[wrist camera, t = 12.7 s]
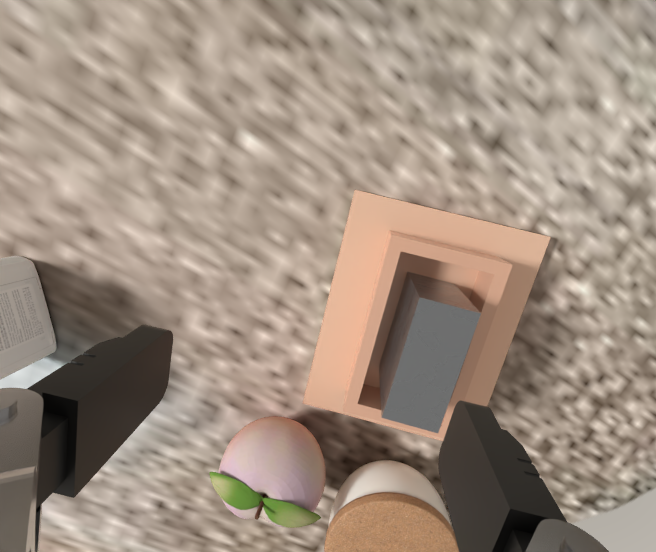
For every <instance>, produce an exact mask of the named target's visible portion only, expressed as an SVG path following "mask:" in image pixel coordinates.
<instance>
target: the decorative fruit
mask: <svg viewBox="0 0 656 552" xmlns="http://www.w3.org/2000/svg"><path fill="white" fill-rule="evenodd" d="M210 478H211V482H212V484H213V486H214V488H215V490H216V492H217V493H218V495H219V496H220V497H221V498H222V500H223V502H224V503H225V505H226V506H227V508H228V509H229V510H230V511H231V512H233V513H234V514H235V515H237V516H238V517H241V518H244V519H254V518H255V519H258V518H259V517H263V518H264V519H266V520H267V521H268V522H269V523H271V524H273V525H275V526H279V527H290V528H295V527H302V526H306V525H309V524H312V523H314V522H316V521H317V520H319V519H320V518H321V517H320V516H319V515H317V514H316V513H314V510H315V509H316V507H317V505H318V503H319V501H320V499H321V497H322V494H323V491H324V486H325V463H324V458H323V455H322V451H321V449H320V446H319V444H318V442H317V440H316V439H315V437H314V436H313V435H312V434H311V432H310V431H309V430H308V429H307V428H305V427H304V426H303V425H302V424H300V423H298V422H297V421H294V420H292V419H289V418H285V417H277V416H272V417H264V418H261V419H258V420H256V421H254V422H251V423H250V424H248V425H247V426H245V427H244V428H243V429H241V430H240V431H239V432H238V433H237V434H236V435H235V436H234V438H233V439H232V440H231V442H230V443H229V445H228V447H227V449H226V451H225V453H224V456H223V458H222V461H221V464H220V468H219V473H216V472H210Z"/></svg>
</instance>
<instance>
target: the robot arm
mask: <svg viewBox="0 0 656 552" xmlns="http://www.w3.org/2000/svg"><path fill="white" fill-rule="evenodd" d="M172 344H173V334H172V332H171V331H169V330H165V329H161V328H157V327H152V326H148V325H142V326H140V327H138V328H137V329H135V330H134V331H133V332H131V333H130V334H128V335H127V336H125V337H124V338H120V337H118V338H114V339H111V340H108V341H105V342H102V343H99V344H97V345H95V346H94V347H92V348H91V349H89V350H88V351H86V352H84V354H83V355H80V356H78V357H77V358H75V359H73V360H72V361H71V363H67V364H65V365H64V366H62V367H61V368H59V369H58V370H56V371H54V372H53V373H51V374H50V375H48V376H47V377H45V378H43V379H42V380H40V381H39V382H37V383H35V384H34V385H32V386H31V387H29V388H28V389H22V388H2V389H0V552H39V541H40V528H41V515H42V503H43V502H44V501H45V500H46V499H47V498H48V497H49V496H50V495H51V494H52V493H57V494H61V495H65V496H69V497H73V498H74V497H75V496H76V495H77V494H78V493H79V492H80V491H81V489H82V488H83V487H84V486H85V485H86V484H87V483H88V482H89V481H90V479H91V478H92V477H93V476H94V475H95V474H96V473H97V472H98V471H99V469H100V468H101V467H102V466H103V465H104V464H105V463H106V462H107V461H108V459H109V458H110V457H111V456H112V455H113V454H114V453H115V452H116V451H117V449H118V448H119V447H120V446H121V445H122V444H123V443H124V442H125V441H126V439H127V438H128V437H129V436H130V435H131V434H132V433H133V432H134V431H135V429H136V428H137V427H138V426H139V425H140V424H141V423H142V422H143V421H144V419H145V418H146V417H147V416H148V415H149V414H150V413H151V412H152V411H153V409H154V408H155V407H156V406H157V405H158V404H159V403H160V401H161V399H162V398H163V396H164V394H165V391H166V388H167V385H168V380H169V371H170V362H171V353H172ZM531 462H532V461H531V459H530V458H529V456H528V454H527V453H526V451H525V449H524V448H523V446H522V445H521V444H520V443H519V442H518V441H517V440H516V439H515V438H514V437H513V436H512V435H511V434H510V433H509V432H508V431H507V430H503V429H501V428H500V426H499V424H498V422H497V420H496V418H495V417H494V415H493V413H492V411H491V409H490V408H489V407H487V406H483V405H478V404H474V403H470V402H466V401H462V400H460V401H458V402H457V404H456V406H455V408H454V411H453V414H452V416H451V419H450V422H449V425H448V428H447V431H446V434H445V437H444V440H443V443H442V446H441V449H440V454H439V474H440V478H441V482H442V486H443V490H444V494H445V498H446V502H447V506H448V510H449V514H450V518H451V522H452V526H453V529H454V533H455V537H456V541H457V545H458V549H459V552H609V551H608V550H607V549H606V548H605V547H604V546H603V545H602V544H601V543H600V542H598V541H597V540H596V539H595V538H594V537H592V536H591V535H589V534H588V533H586V532H585V531H583V530H582V529H580V528H578V527H577V526H574V525H572V524H570V523H568V522H567V521H566V519H565V518H564V516H563V514H562V512H561V511H560V509H559V507H558V506H557V504H556V502H555V500H554V499H553V497H552V495H551V494H550V492H549V490H548V489H547V487H546V485H545V483H544V482H543V480H542V478H539V473H538V471H537V470H536V468H535V466H534V465H533V464H531Z"/></svg>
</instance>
